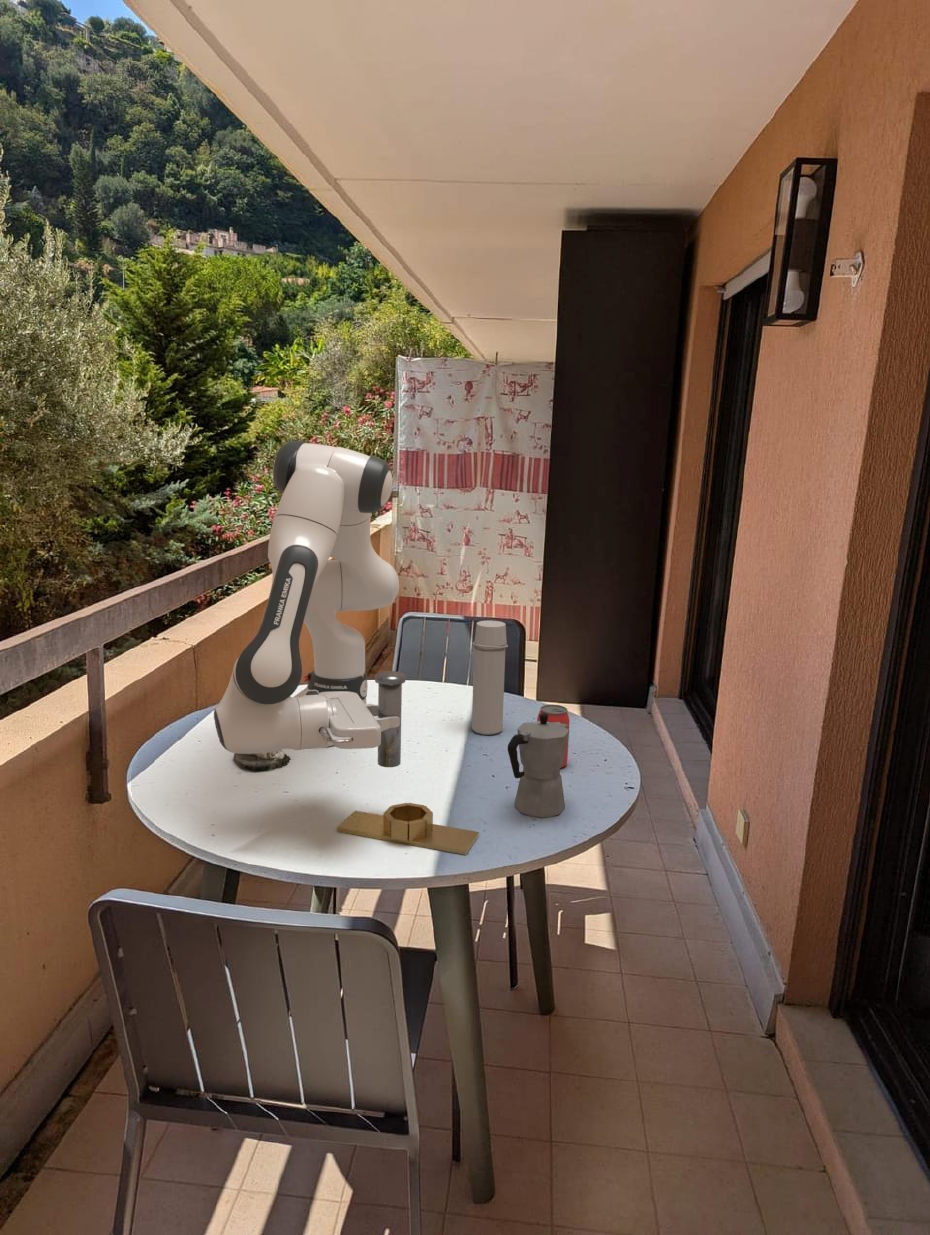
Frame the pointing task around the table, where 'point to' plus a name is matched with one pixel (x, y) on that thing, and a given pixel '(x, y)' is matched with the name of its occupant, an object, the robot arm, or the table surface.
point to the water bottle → (488, 677)
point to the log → (261, 761)
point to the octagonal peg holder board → (409, 828)
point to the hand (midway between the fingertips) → (394, 715)
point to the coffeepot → (539, 766)
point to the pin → (390, 706)
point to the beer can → (557, 720)
